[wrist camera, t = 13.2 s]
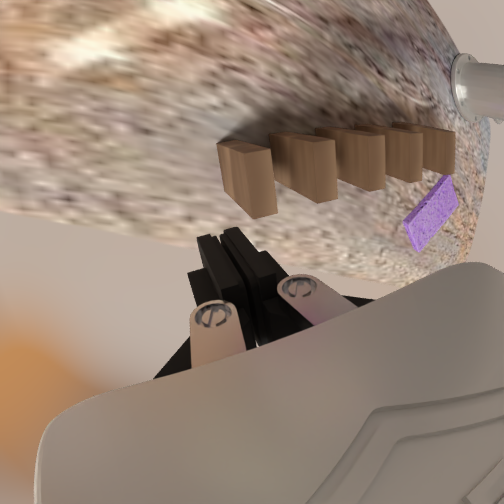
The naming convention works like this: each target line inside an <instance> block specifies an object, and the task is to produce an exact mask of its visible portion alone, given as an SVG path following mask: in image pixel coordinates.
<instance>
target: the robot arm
mask: <svg viewBox="0 0 504 504" xmlns="http://www.w3.org/2000/svg"><path fill="white" fill-rule="evenodd" d="M451 86H452V93H453V97H454V101H455V104H456V106H457V109H458V111H459V112H460V114H461V115H462V117H463V118H464V119H465V120H466V121H469V122H473V123H477V122H479V121H480V120H481V119H482V118H483V116H485V117H490V118H493V119H494V121H495V122H496V123H497V124H501V123H502V121H504V65H498V64H487V63H478V61H477V60H476V59H475V58H474V57H473V56H471V55H470V54H459V55H458V56H456V58H455V59H454V62H453V64H452V69H451ZM220 241H221V243H220V242H219V240H218V238H217V237H216V236H213V237H211V235H210V234H207V235H203V236H200V237H197V243H198V247H199V251H200V255H201V259H202V263H203V267H204V268H202V269H200V270H196V271H192V272H189V273H187V274H188V278H189V281H190V285H191V288H192V292H193V295H194V298H195V301H196V304H197V308H196V309H194V310H193V312H192V313H191V315H190V336H189V338H188V339H187V340H186V341H185V342H184V343H183V345H182V346H181V347H180V348H179V349H178V351H177V352H176V353H175V354H174V355H173V356H172V357H171V359H170V360H169V361H168V362H167V363H166V365H165V366H164V367H163V368H162V369H161V371H160V372H159V373H158V374H157V375H156V376H155V377H154V378H153V380H149V381H146V382H142V383H138V384H135V385H131V386H127V387H123V388H120V389H116V390H112V391H109V392H106V393H103V394H99V395H96V396H93V397H91V398H89V399H87V400H84V401H82V402H79V403H77V404H75V405H74V406H72V407H70V408H69V409H67V410H65V411H64V412H62V413H61V414H59V415H58V416H57V417H55V418H54V419H53V420H52V421H51V422H50V423H49V424H48V426H47V427H46V429H45V431H44V433H43V435H42V438H41V441H40V444H39V448H38V453H37V459H36V465H35V476H34V504H504V273H502V272H501V271H499V270H497V269H495V268H493V267H492V266H490V265H487V264H485V263H480V262H468V263H460V264H456V265H452V266H449V267H446V268H444V269H441V270H439V271H437V272H434V273H432V274H430V275H428V276H426V277H424V278H421V279H419V280H417V281H415V282H413V283H411V284H409V285H407V286H405V287H403V288H401V289H399V290H397V291H394V292H393V293H390V294H388V295H386V296H384V297H381V298H379V299H377V300H373V299H366V298H358V297H350V296H343V295H340V294H339V293H337V292H336V291H335V290H333V289H332V288H330V287H329V286H327V285H326V284H325V283H323V282H322V281H320V280H319V279H317V278H315V277H313V276H311V275H306V274H298V275H292V276H289V275H288V274H287V273H286V272H285V271H284V270H283V269H282V267H281V266H280V265H279V264H278V263H277V262H276V261H275V260H274V259H273V257H272V256H271V255H270V254H269V253H268V252H267V251H266V250H265V251H261V252H258V251H257V249H256V248H255V247H254V246H253V245H252V244H251V242H250V241H249V240H248V239H247V238H246V236H245V235H244V234H243V233H242V232H241V230H240V229H239V228H238V227H233V228H229V229H226V230H224V234H221V235H220ZM255 340H256V341H255ZM256 342H257V344H258V346H259V347H257V346H256Z"/></svg>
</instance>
